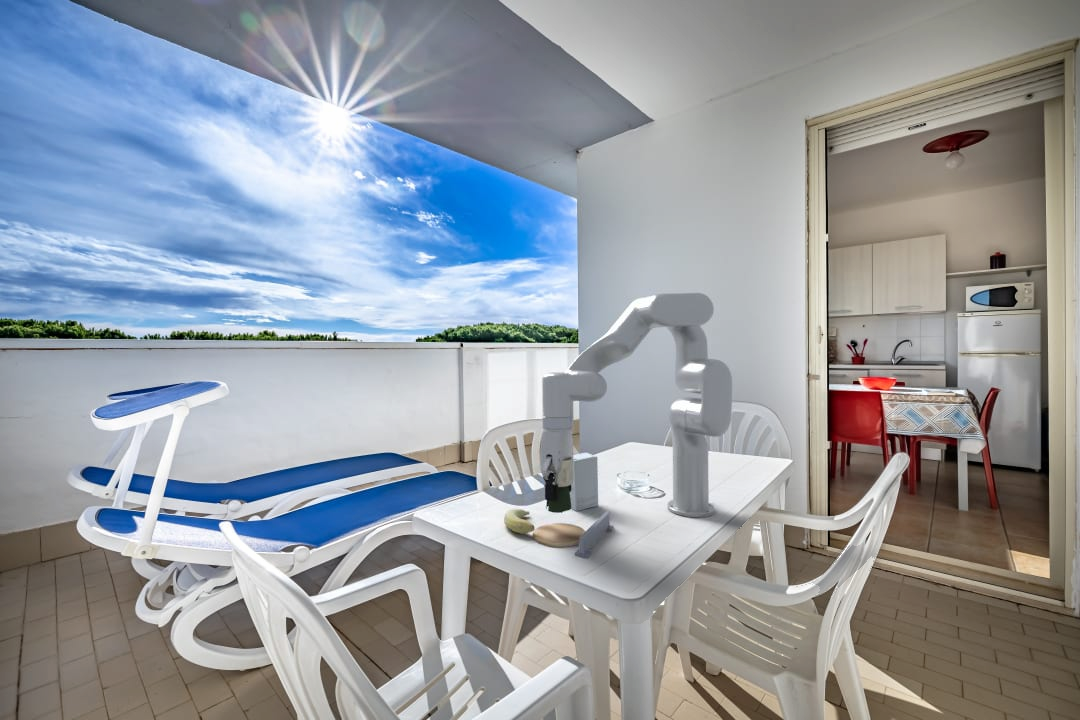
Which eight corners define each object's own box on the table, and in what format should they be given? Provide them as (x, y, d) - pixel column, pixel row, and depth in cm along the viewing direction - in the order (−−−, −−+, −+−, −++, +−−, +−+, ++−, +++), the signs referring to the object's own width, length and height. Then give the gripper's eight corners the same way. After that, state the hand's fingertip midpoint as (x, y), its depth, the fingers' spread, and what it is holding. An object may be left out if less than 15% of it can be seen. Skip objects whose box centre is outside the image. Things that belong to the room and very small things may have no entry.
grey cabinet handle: (602, 526, 116) (602, 510, 116) (613, 528, 115) (613, 512, 115) (574, 555, 100) (574, 537, 100) (587, 557, 98) (587, 539, 98)
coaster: (547, 522, 119) (547, 519, 119) (593, 530, 113) (593, 527, 113) (523, 541, 108) (523, 538, 108) (573, 551, 102) (573, 548, 102)
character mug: (536, 506, 114) (536, 454, 114) (561, 502, 117) (561, 452, 116) (555, 520, 104) (555, 464, 104) (582, 515, 107) (582, 461, 107)
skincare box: (587, 500, 136) (586, 451, 136) (599, 506, 131) (598, 455, 130) (563, 505, 132) (563, 455, 132) (575, 512, 127) (574, 459, 126)
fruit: (505, 538, 108) (504, 525, 108) (503, 517, 123) (502, 505, 123) (535, 535, 109) (534, 521, 109) (529, 514, 124) (528, 502, 124)
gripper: (558, 417, 119) (559, 484, 120) (527, 427, 104) (528, 504, 104) (585, 419, 116) (585, 488, 116) (557, 429, 100) (557, 509, 101)
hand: (558, 495), depth 110 cm, fingers closed on character mug, 7 cm apart
